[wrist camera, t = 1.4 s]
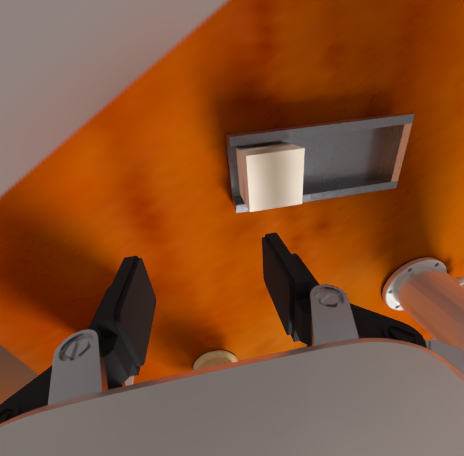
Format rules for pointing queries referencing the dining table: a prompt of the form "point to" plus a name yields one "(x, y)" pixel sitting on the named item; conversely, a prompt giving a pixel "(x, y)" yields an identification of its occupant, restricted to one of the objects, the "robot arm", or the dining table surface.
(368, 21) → the dining table surface
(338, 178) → the grey shallow tray
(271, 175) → the block
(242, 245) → the dining table surface
